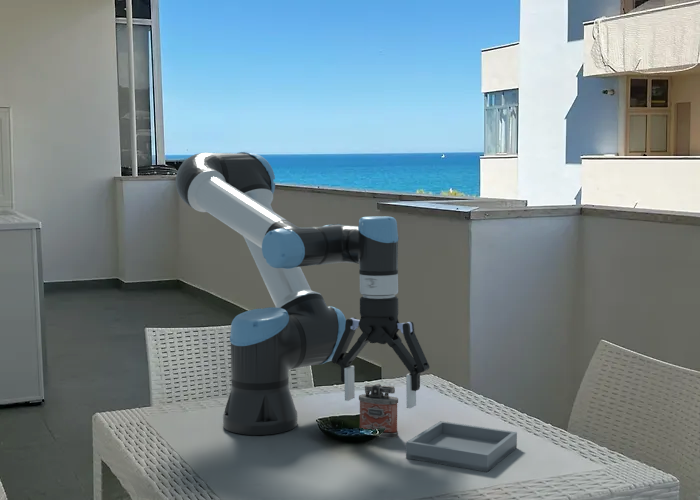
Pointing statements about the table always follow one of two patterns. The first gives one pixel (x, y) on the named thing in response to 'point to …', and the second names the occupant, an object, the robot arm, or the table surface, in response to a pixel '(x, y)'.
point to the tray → (462, 446)
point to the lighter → (379, 410)
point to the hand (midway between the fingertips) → (380, 403)
